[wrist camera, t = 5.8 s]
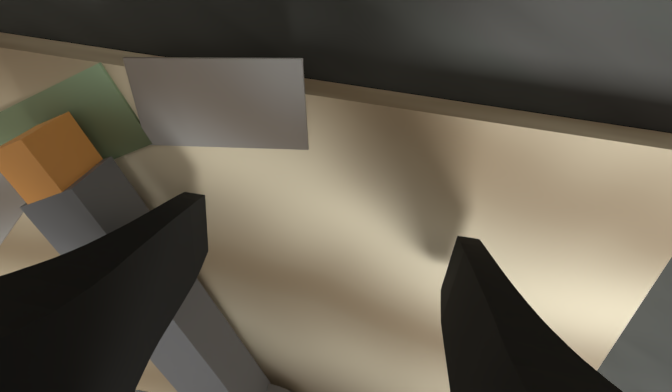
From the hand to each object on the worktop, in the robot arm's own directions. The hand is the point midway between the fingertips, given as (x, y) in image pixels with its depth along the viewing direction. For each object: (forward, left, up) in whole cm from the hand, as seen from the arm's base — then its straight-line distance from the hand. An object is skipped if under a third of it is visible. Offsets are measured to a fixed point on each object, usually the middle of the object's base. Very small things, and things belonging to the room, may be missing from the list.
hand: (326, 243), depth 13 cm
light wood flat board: (-3, +2, -2) cm, 4 cm away
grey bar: (-4, +4, 0) cm, 6 cm away
